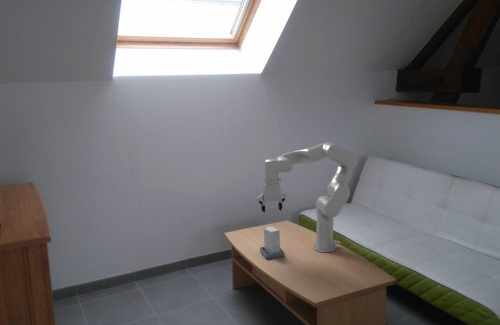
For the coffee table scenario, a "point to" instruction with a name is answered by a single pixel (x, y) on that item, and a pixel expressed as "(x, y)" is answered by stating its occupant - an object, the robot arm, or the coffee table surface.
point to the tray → (271, 256)
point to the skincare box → (271, 240)
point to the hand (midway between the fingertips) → (271, 210)
